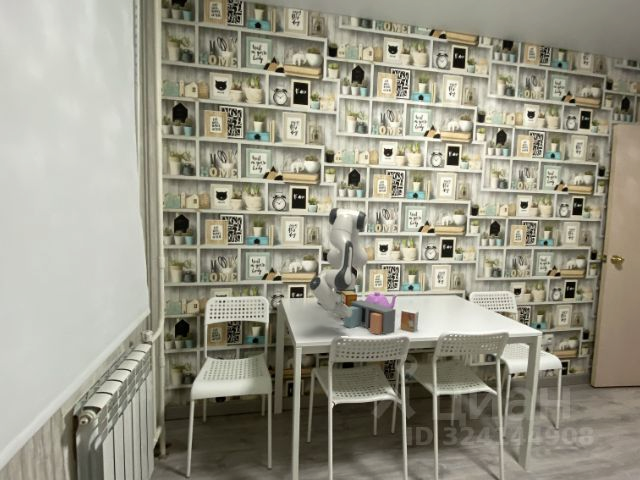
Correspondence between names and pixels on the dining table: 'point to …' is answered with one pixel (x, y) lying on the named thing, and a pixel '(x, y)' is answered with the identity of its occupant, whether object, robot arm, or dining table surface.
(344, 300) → the baking soda box
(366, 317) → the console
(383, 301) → the teapot
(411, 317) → the small box
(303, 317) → the dining table surface
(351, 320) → the teal rectangular block
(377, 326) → the orange rounded block
